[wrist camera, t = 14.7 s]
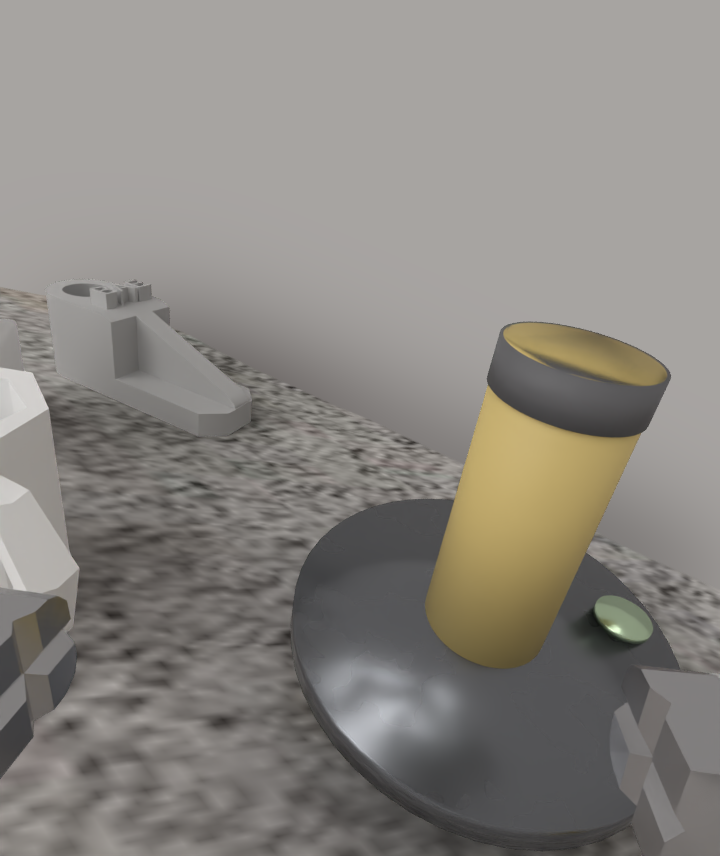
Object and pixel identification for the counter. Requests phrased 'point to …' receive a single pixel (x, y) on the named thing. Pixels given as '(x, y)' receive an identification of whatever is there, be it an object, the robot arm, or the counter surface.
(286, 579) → the counter surface
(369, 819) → the counter surface
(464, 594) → the yellow lidded tumbler
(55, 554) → the mug
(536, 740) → the plate
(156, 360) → the sloped support bracket
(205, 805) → the counter surface
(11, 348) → the medicine bottle
